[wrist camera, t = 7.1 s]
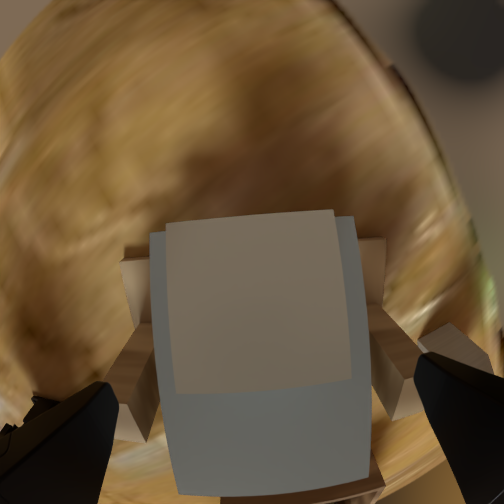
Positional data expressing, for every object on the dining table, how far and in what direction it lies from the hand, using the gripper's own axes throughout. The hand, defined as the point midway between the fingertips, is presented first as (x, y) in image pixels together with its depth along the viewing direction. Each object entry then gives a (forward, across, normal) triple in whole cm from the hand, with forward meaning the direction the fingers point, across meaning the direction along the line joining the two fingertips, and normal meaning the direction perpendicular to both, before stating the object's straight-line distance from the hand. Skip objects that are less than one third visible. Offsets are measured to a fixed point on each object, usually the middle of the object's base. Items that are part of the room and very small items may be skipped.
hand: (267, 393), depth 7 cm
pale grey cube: (+6, 0, 0) cm, 6 cm away
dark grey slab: (+9, 0, +5) cm, 10 cm away
